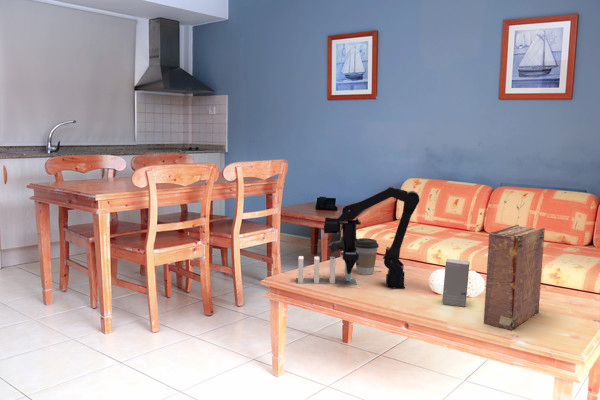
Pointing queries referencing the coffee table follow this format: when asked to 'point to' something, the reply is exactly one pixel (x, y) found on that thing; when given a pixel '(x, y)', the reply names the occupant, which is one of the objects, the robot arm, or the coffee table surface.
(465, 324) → the coffee table surface
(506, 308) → the book
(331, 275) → the ivory domino
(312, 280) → the mat
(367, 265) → the coffee cup
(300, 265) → the ivory end domino
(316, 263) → the ivory domino
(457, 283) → the skincare box
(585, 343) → the coffee table surface
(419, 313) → the coffee table surface
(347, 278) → the teal domino
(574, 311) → the coffee table surface
